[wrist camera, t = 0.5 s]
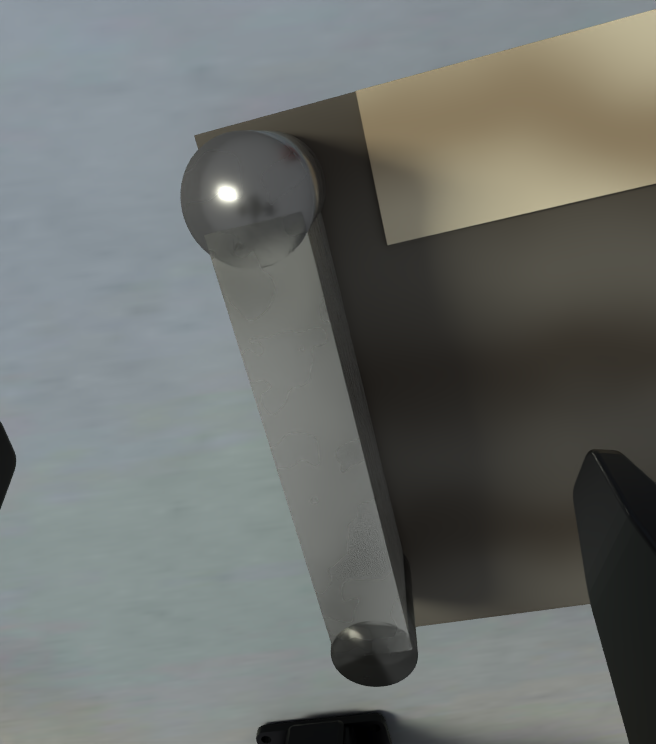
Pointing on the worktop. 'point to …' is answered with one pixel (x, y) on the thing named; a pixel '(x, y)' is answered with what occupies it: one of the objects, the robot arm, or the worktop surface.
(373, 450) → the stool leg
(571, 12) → the worktop surface
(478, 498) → the wooden board
